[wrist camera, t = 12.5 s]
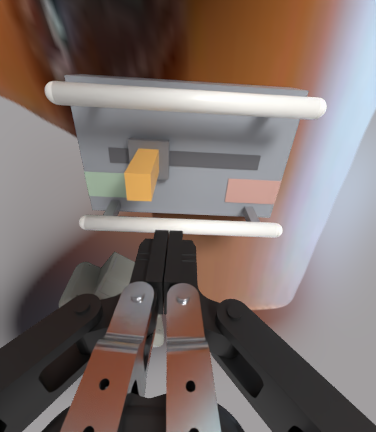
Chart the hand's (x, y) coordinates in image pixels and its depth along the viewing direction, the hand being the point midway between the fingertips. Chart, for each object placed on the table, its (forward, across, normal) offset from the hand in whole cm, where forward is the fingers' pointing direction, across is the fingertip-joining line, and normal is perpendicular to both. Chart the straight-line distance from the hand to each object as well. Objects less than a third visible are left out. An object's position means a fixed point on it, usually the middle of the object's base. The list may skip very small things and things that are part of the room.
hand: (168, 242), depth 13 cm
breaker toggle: (+14, +3, 0) cm, 14 cm away
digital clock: (+18, +9, +23) cm, 31 cm away
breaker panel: (+18, -1, 0) cm, 18 cm away
